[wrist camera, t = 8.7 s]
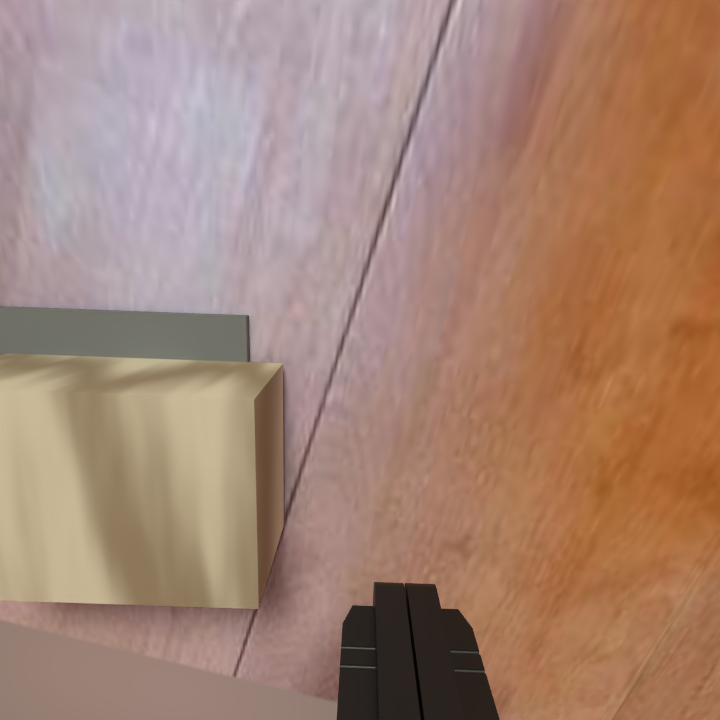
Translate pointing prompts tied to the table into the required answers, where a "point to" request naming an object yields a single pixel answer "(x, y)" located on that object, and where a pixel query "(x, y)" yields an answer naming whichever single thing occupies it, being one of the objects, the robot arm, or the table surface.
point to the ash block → (139, 480)
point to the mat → (124, 334)
